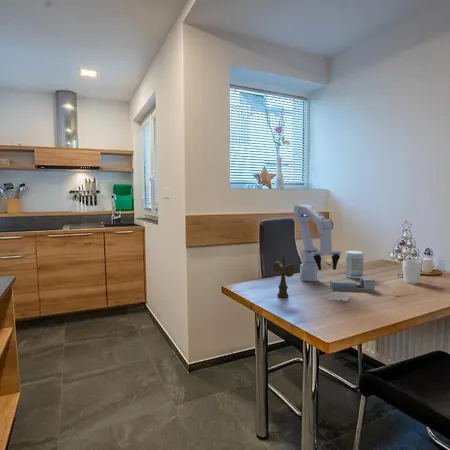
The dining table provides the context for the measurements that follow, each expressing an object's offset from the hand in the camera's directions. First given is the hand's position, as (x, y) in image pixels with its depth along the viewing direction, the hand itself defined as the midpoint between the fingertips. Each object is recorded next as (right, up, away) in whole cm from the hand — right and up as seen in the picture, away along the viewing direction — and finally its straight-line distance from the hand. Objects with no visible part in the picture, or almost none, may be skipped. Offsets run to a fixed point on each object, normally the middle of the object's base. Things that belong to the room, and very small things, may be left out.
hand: (327, 269), depth 161 cm
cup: (+50, -9, +12) cm, 52 cm away
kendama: (-25, -11, -11) cm, 29 cm away
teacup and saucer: (+1, -13, -19) cm, 23 cm away
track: (+12, -10, 0) cm, 15 cm away
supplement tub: (+23, -8, +23) cm, 33 cm away
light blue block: (+8, -10, 0) cm, 13 cm away
